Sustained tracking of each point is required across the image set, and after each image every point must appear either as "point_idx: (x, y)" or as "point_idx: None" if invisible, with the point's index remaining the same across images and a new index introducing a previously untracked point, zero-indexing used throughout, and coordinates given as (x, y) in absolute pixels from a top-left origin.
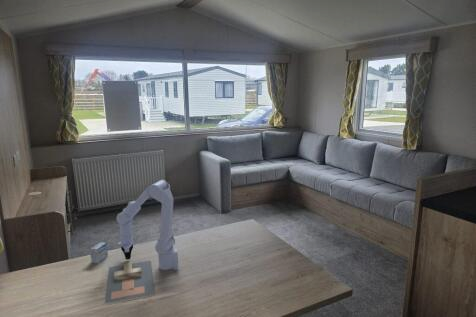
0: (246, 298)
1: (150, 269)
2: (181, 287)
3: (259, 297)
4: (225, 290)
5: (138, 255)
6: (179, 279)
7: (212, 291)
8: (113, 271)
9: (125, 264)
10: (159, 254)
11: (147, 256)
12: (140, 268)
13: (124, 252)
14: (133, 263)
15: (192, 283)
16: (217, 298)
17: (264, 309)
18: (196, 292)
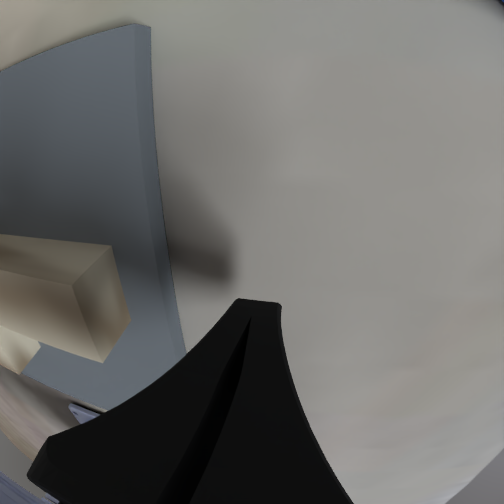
0: (22, 442)
1: (76, 393)
2: (11, 399)
3: (31, 452)
4: (33, 442)
5: (385, 384)
6: (46, 419)
7: (21, 428)
8: (27, 118)
9: (23, 288)
10: (50, 497)
11: (316, 427)
12: (6, 366)
13: (131, 410)
14: (165, 339)
15: (37, 426)
16: (5, 419)
17: (7, 435)
18: (6, 408)
